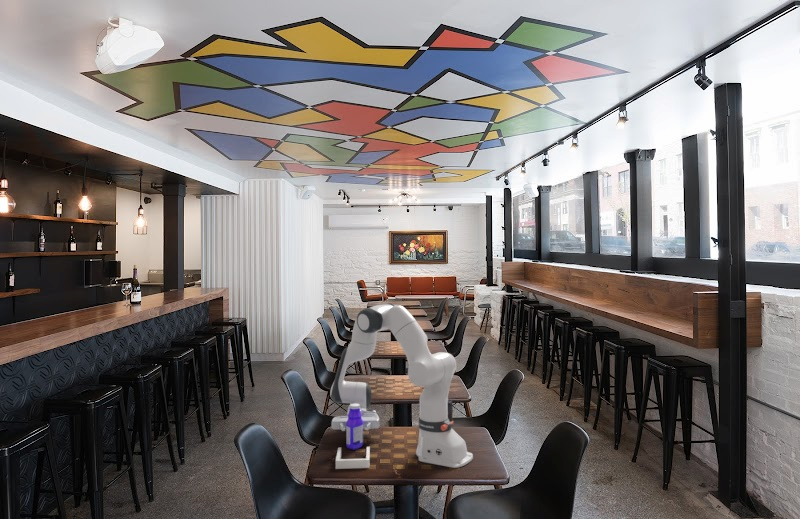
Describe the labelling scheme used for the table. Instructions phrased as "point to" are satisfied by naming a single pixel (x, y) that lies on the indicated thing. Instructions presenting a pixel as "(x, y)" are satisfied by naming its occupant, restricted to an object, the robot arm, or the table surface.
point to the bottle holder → (352, 461)
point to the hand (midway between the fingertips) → (354, 428)
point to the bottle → (354, 428)
